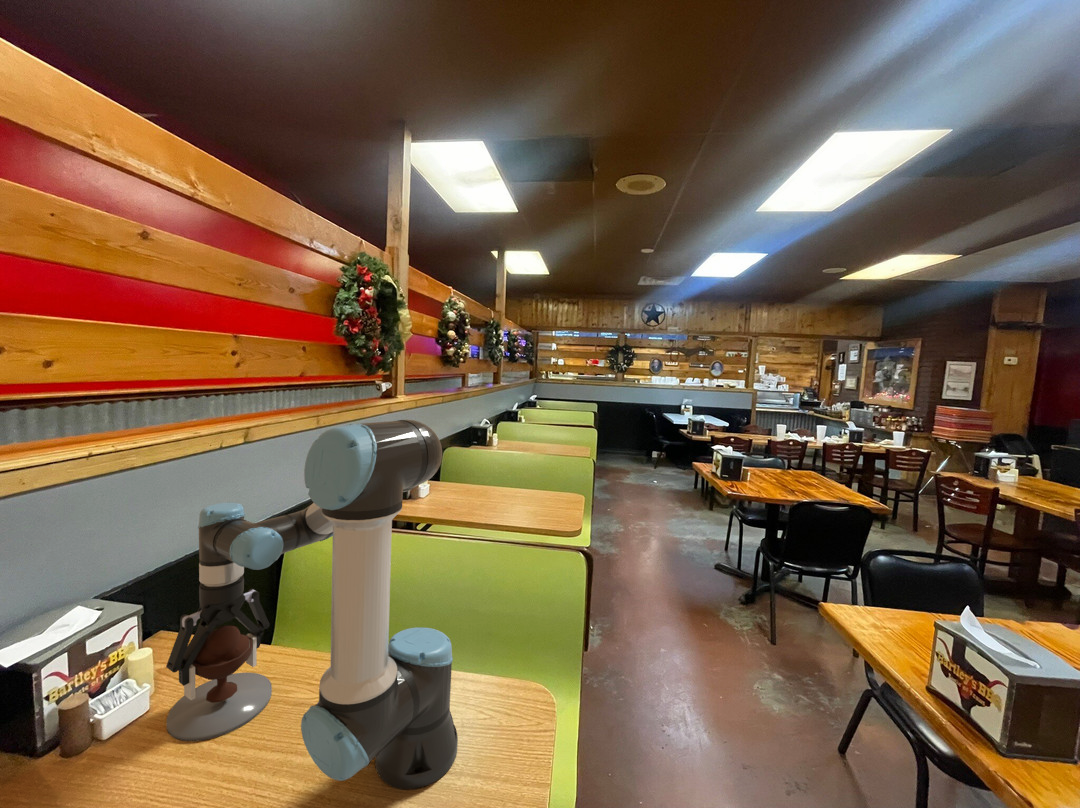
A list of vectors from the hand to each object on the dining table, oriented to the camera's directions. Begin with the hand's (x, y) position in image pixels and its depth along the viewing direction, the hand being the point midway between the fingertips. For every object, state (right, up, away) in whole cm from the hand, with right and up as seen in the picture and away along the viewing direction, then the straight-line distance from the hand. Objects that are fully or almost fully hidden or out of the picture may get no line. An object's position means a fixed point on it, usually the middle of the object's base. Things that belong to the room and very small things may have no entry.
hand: (222, 679), depth 93 cm
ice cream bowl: (0, -3, 0) cm, 3 cm away
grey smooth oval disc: (0, -6, +1) cm, 6 cm away
